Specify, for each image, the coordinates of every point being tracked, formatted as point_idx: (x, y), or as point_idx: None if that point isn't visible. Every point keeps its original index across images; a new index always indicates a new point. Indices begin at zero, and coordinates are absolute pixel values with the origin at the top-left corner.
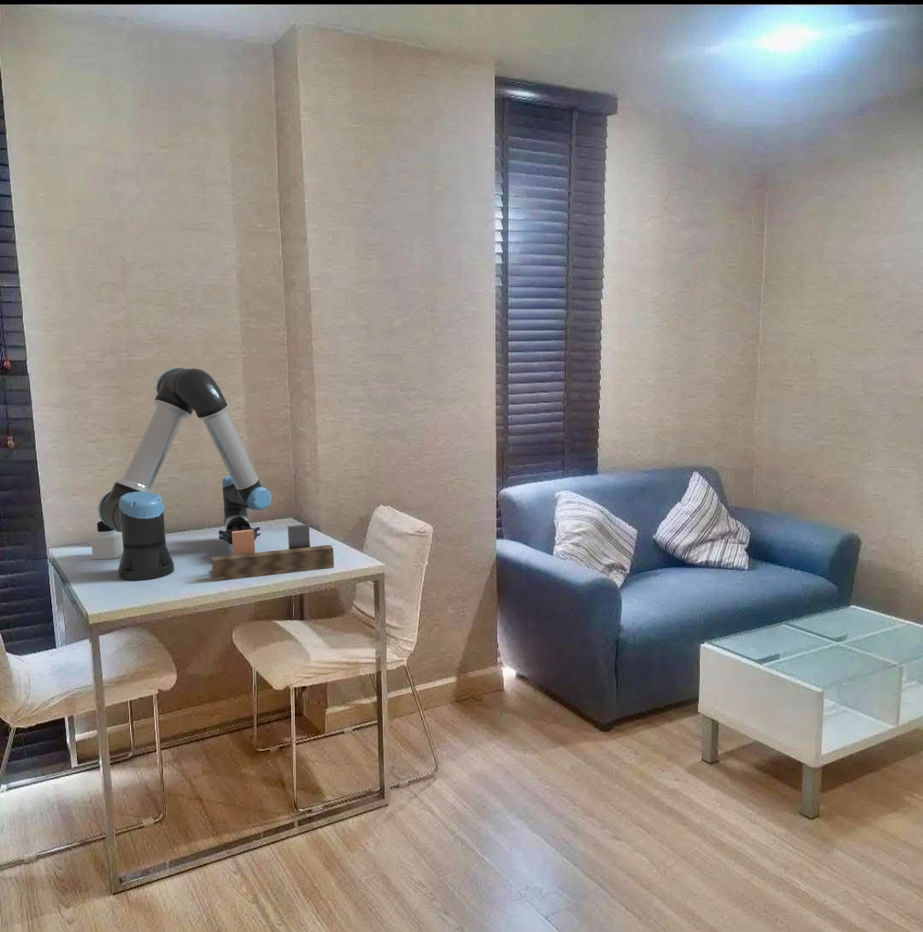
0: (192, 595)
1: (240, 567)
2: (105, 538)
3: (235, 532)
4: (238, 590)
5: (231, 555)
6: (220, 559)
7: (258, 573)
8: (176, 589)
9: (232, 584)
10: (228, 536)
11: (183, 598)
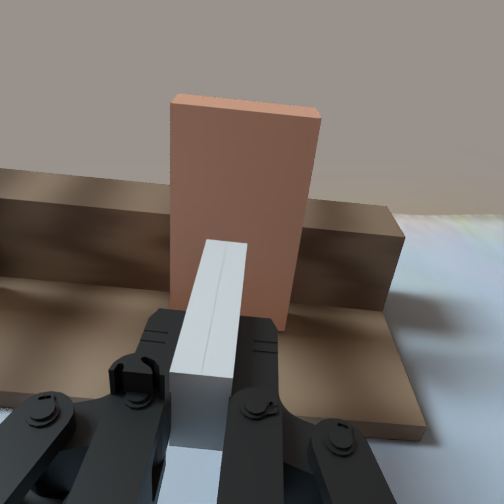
0: (406, 224)
1: None
2: None
3: (295, 106)
4: None
5: (306, 224)
6: (354, 205)
7: None
8: (485, 273)
9: None
10: (369, 454)
11: (424, 218)
